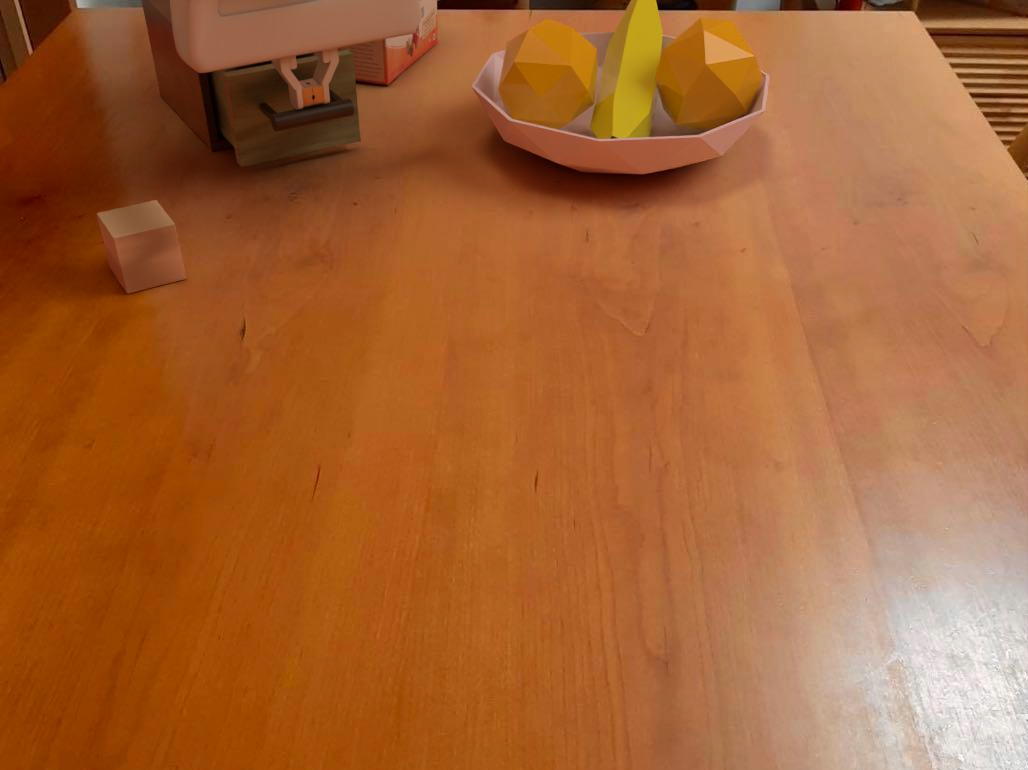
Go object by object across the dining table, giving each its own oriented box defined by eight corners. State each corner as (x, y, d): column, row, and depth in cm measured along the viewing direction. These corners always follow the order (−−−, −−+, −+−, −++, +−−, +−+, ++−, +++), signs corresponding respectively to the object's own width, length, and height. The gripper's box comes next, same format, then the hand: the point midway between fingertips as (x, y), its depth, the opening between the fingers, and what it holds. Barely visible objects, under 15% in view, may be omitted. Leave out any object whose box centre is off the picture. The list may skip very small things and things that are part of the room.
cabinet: (339, 125, 111) (329, 19, 105) (211, 152, 106) (192, 43, 100) (279, 72, 121) (266, -26, 115) (160, 95, 116) (140, -7, 110)
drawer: (381, 159, 103) (375, 70, 98) (259, 187, 99) (246, 95, 94) (300, 89, 115) (290, 6, 110) (188, 111, 111) (172, 26, 106)
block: (127, 294, 87) (113, 238, 84) (110, 268, 90) (96, 212, 87) (186, 279, 89) (175, 223, 86) (168, 254, 92) (156, 199, 89)
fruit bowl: (697, 234, 95) (714, 95, 87) (419, 163, 105) (412, 32, 97) (812, 117, 113) (834, -6, 105) (565, 66, 123) (569, -50, 115)
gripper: (395, -102, 95) (405, 70, 104) (147, -68, 87) (182, 115, 96) (430, -85, 91) (437, 93, 100) (174, -47, 83) (208, 142, 92)
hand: (310, 104), depth 98 cm, fingers closed, pressing on drawer
